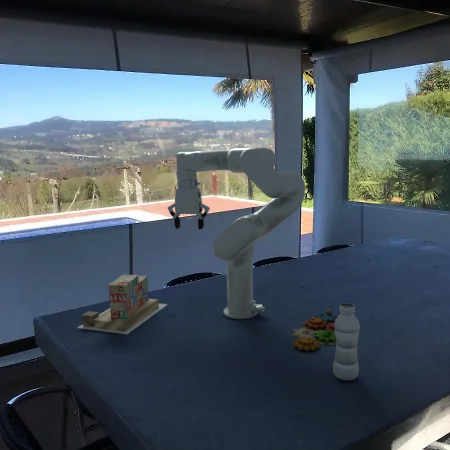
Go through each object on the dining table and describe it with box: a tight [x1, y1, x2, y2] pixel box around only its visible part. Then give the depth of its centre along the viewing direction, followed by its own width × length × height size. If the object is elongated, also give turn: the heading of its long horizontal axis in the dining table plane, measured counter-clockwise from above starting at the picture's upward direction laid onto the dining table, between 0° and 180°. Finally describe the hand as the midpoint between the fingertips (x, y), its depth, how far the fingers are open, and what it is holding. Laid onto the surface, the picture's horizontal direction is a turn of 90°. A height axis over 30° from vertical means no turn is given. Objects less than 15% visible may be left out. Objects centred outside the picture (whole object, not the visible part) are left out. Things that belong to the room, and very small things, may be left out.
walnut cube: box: [81, 310, 100, 327], centre depth 160 cm, size 4×4×4 cm
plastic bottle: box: [332, 302, 361, 381], centre depth 119 cm, size 6×7×20 cm
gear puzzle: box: [291, 308, 338, 352], centre depth 149 cm, size 31×16×4 cm, turn 143°
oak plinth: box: [94, 298, 160, 332], centre depth 166 cm, size 12×25×3 cm, turn 161°
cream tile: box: [76, 303, 168, 335], centre depth 168 cm, size 20×30×1 cm, turn 161°
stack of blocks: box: [108, 274, 150, 319], centre depth 166 cm, size 21×6×12 cm, turn 169°
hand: (189, 228), depth 177 cm, fingers open, 9 cm apart
